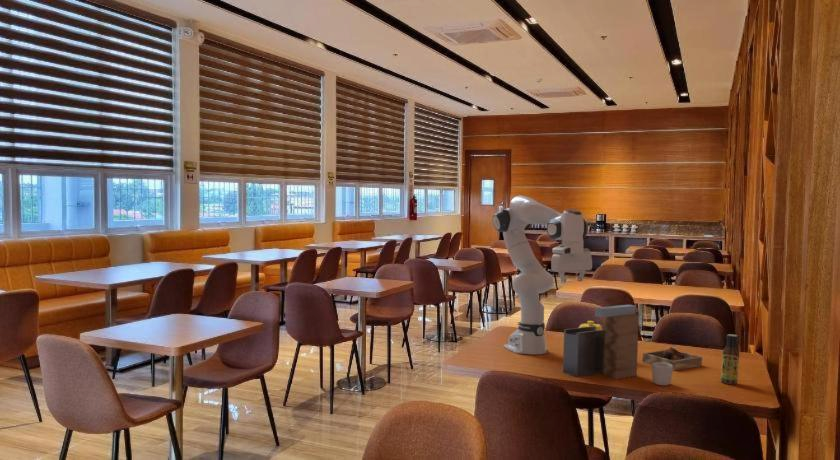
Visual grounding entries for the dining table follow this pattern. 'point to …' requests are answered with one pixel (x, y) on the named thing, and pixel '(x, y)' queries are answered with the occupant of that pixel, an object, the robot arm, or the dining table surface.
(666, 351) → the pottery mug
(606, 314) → the rail
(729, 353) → the sauce bottle
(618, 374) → the post
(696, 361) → the caddy
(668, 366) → the cup
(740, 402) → the dining table surface
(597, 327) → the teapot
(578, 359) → the dark gray box
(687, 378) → the dining table surface
